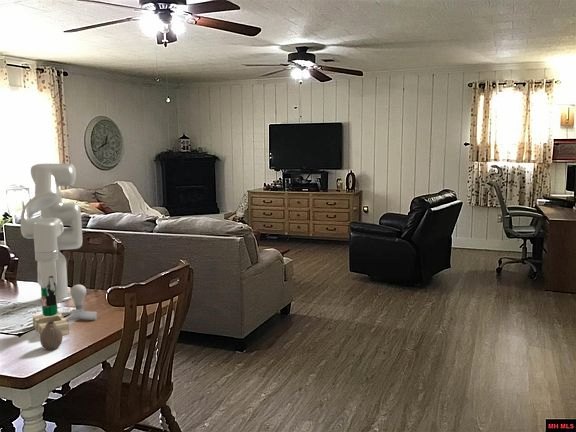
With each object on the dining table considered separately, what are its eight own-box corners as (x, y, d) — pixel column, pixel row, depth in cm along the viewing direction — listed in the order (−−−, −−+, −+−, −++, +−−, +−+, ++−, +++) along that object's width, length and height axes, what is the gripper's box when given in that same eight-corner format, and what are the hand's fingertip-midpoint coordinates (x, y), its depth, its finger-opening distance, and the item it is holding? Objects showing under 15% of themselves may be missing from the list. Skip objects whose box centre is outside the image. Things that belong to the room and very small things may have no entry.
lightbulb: (81, 313, 207) (80, 287, 205) (68, 312, 208) (66, 286, 206) (90, 308, 213) (89, 283, 211) (77, 307, 214) (75, 282, 212)
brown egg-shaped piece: (45, 344, 175) (43, 319, 174) (66, 343, 176) (64, 319, 174) (37, 352, 168) (35, 326, 167) (58, 351, 169) (57, 326, 168)
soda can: (39, 315, 187) (37, 284, 185) (50, 311, 191) (49, 280, 189) (49, 317, 185) (47, 285, 183) (60, 313, 189) (59, 282, 187)
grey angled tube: (61, 319, 199) (60, 312, 199) (91, 314, 206) (91, 307, 205) (66, 325, 193) (66, 318, 192) (97, 319, 199) (97, 312, 199)
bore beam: (33, 326, 192) (32, 315, 191) (58, 321, 197) (58, 311, 197) (42, 339, 179) (41, 328, 179) (69, 333, 185) (68, 323, 184)
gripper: (30, 252, 189) (33, 299, 192) (40, 261, 175) (43, 311, 178) (52, 249, 193) (55, 295, 196) (63, 258, 180) (66, 307, 183)
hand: (49, 302), depth 187 cm, fingers closed on soda can, 5 cm apart
